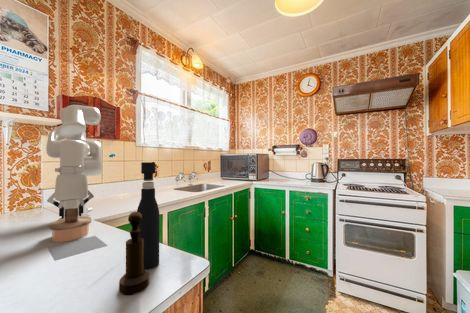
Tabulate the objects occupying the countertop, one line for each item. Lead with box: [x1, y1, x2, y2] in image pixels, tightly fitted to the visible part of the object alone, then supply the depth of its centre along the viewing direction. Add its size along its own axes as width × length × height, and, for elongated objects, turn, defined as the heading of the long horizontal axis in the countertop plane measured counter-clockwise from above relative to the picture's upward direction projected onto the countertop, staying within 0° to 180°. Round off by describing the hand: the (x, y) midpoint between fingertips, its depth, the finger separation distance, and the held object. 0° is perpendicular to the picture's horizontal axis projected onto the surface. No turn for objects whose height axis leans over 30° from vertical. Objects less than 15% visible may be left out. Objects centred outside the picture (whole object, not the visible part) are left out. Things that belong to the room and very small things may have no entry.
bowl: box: [51, 223, 90, 243], centre depth 80 cm, size 11×11×5 cm
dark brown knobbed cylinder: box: [118, 211, 150, 296], centre depth 49 cm, size 7×6×18 cm
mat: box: [47, 235, 108, 261], centre depth 70 cm, size 14×14×1 cm
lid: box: [48, 208, 92, 231], centre depth 80 cm, size 13×13×6 cm
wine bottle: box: [136, 161, 161, 271], centre depth 59 cm, size 6×6×30 cm
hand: (71, 216), depth 80 cm, fingers open, 4 cm apart
